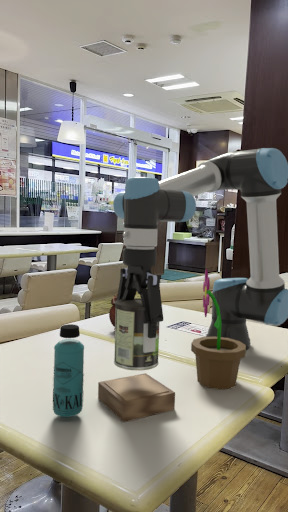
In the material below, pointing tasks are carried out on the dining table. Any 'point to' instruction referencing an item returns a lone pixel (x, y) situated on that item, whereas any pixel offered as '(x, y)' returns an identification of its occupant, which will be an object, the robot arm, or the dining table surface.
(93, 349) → the dining table surface
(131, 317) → the coffee can
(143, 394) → the walnut base
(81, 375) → the beverage bottle
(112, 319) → the alarm clock
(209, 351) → the flowerpot
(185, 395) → the dining table surface
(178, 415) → the dining table surface
